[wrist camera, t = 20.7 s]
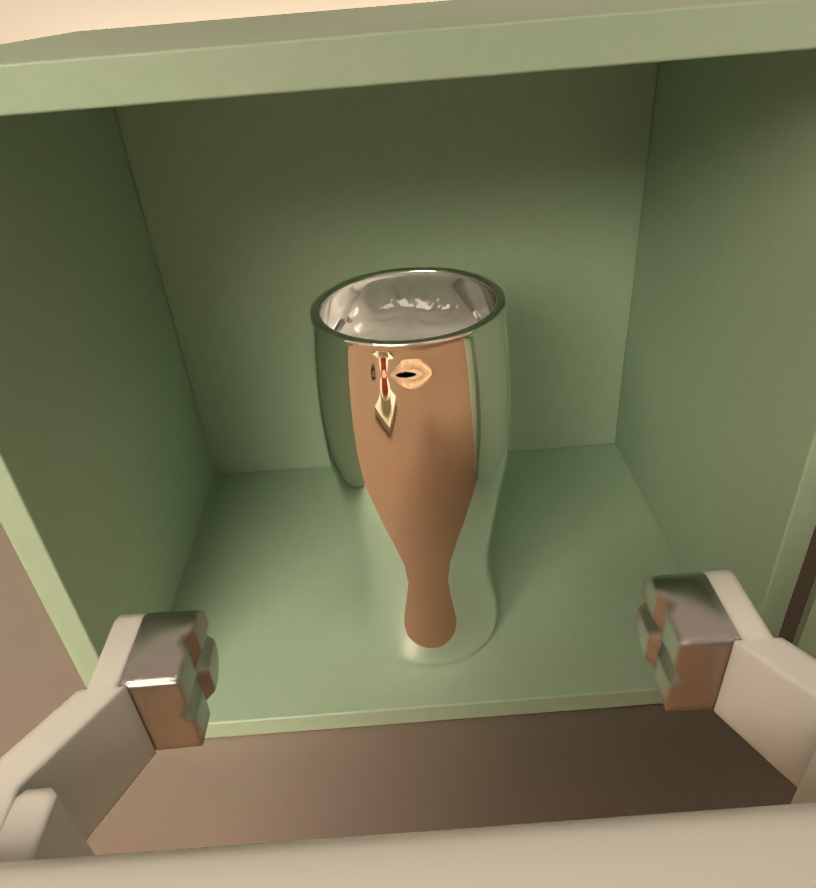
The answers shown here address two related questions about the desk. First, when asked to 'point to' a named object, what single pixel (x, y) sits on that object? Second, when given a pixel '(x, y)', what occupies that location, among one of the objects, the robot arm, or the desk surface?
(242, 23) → the green cabinet
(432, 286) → the beer glass
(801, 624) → the green cabinet door
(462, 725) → the desk surface
